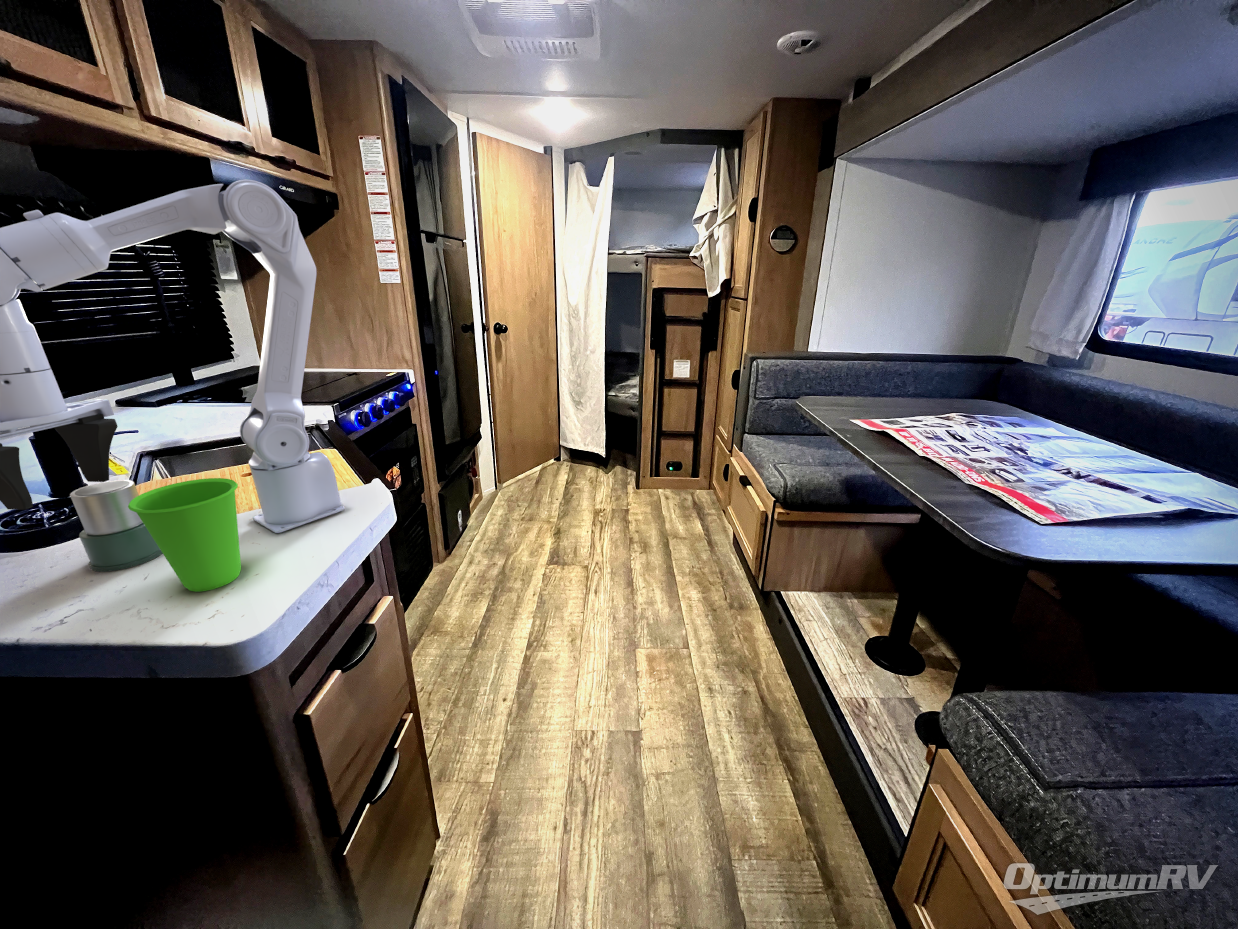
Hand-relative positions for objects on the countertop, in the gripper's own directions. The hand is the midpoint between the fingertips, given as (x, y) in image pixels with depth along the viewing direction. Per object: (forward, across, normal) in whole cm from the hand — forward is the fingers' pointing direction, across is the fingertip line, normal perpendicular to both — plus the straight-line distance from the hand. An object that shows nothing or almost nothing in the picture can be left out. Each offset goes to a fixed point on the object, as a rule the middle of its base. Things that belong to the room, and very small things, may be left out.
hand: (62, 493), depth 53 cm
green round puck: (+10, -4, 0) cm, 11 cm away
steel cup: (+6, -4, 0) cm, 7 cm away
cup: (+10, +1, +15) cm, 19 cm away
